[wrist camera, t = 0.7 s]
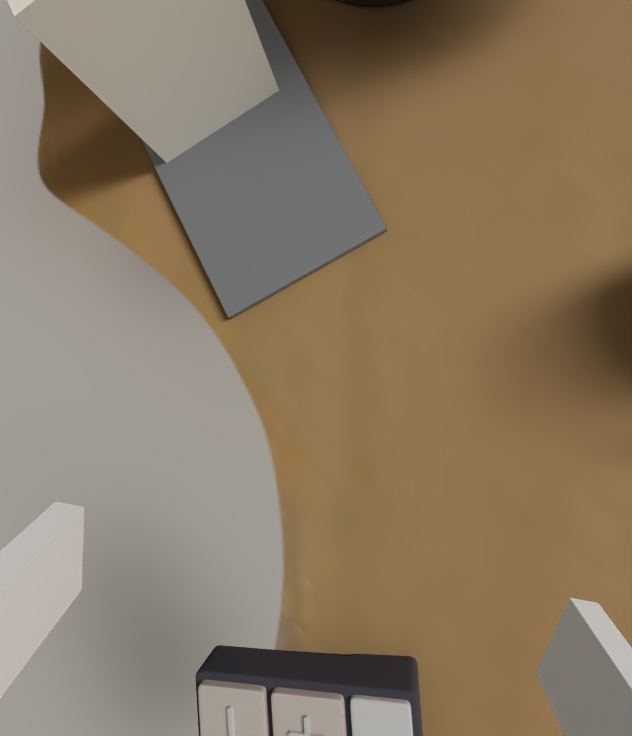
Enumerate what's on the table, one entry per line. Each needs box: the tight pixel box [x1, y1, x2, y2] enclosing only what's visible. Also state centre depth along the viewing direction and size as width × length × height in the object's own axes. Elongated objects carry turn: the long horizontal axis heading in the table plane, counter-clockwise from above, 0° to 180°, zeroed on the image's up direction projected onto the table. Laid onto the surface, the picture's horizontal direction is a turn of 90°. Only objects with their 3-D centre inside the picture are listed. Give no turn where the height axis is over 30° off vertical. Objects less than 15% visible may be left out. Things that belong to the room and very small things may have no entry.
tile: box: [7, 0, 279, 163], centre depth 24 cm, size 10×2×13 cm, turn 117°
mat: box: [141, 0, 387, 319], centre depth 31 cm, size 13×29×1 cm, turn 27°
